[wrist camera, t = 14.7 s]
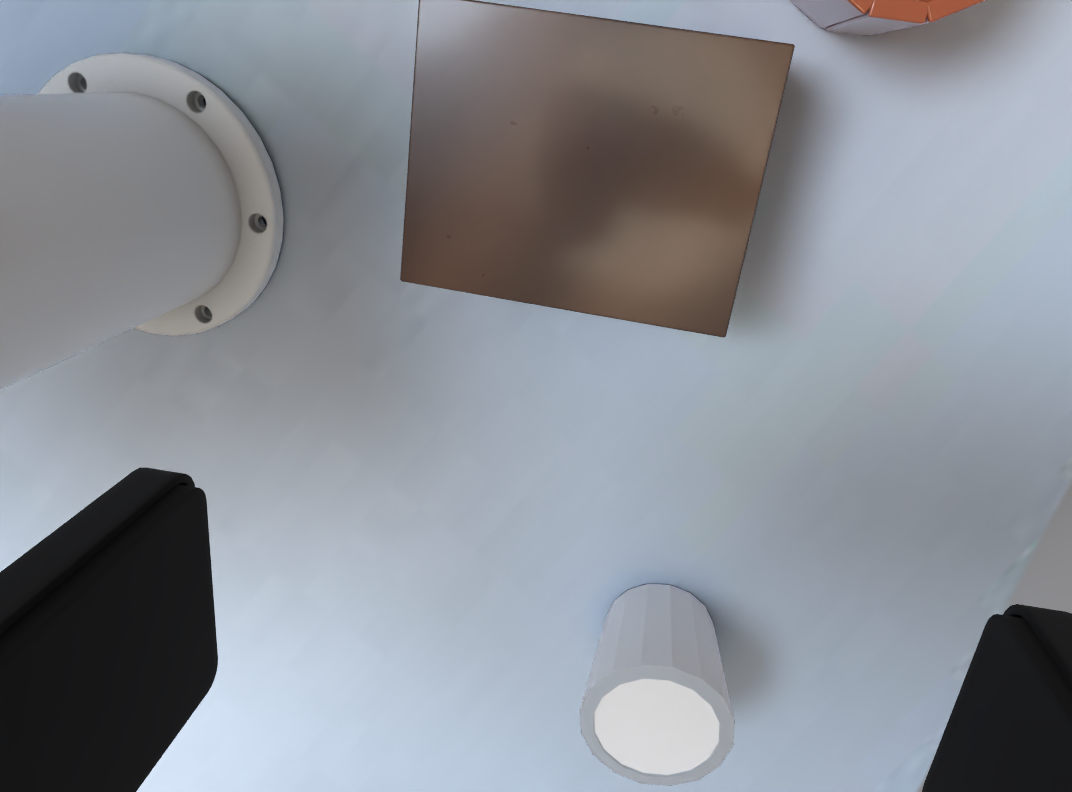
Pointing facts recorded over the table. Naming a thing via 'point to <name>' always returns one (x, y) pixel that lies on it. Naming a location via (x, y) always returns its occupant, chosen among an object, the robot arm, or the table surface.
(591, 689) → the white short cylinder
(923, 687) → the table surface
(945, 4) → the cup
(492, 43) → the shelf
